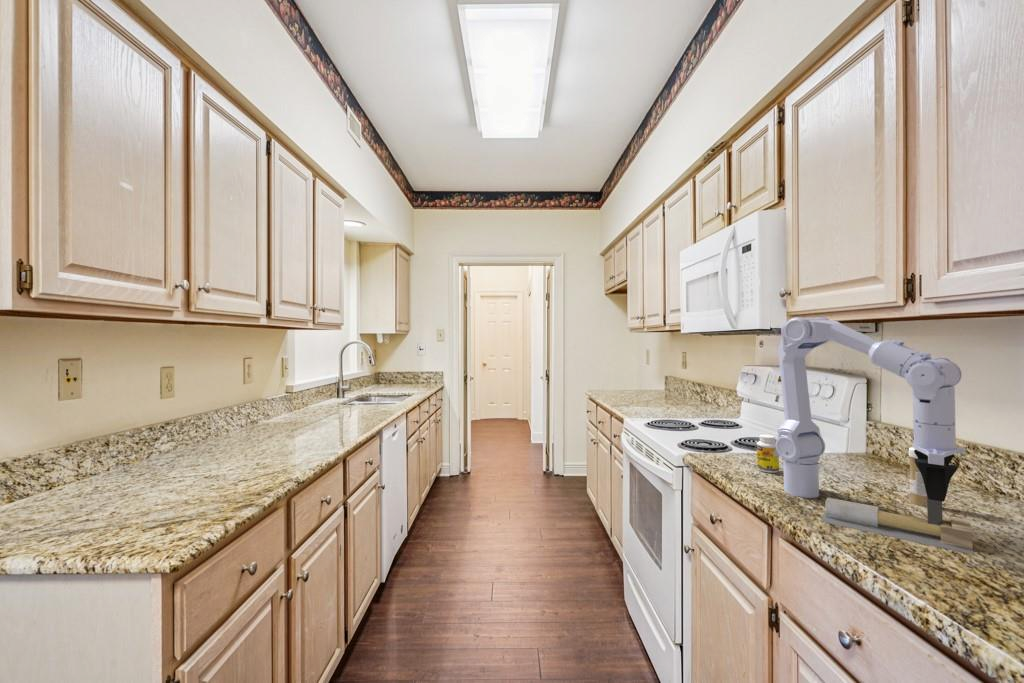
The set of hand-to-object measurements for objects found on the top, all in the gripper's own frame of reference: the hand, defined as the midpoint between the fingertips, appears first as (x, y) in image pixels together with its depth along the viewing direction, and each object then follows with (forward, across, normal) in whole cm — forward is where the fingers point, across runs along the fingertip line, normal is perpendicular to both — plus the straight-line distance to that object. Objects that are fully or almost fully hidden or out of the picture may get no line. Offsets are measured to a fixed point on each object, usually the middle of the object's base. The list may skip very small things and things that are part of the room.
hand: (935, 494), depth 82 cm
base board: (+9, 0, +6) cm, 11 cm away
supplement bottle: (+10, +30, +34) cm, 47 cm away
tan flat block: (+8, 0, +4) cm, 9 cm away
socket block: (+8, 0, -3) cm, 9 cm away
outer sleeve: (+8, 0, +13) cm, 15 cm away
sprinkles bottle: (+9, +20, +1) cm, 22 cm away
